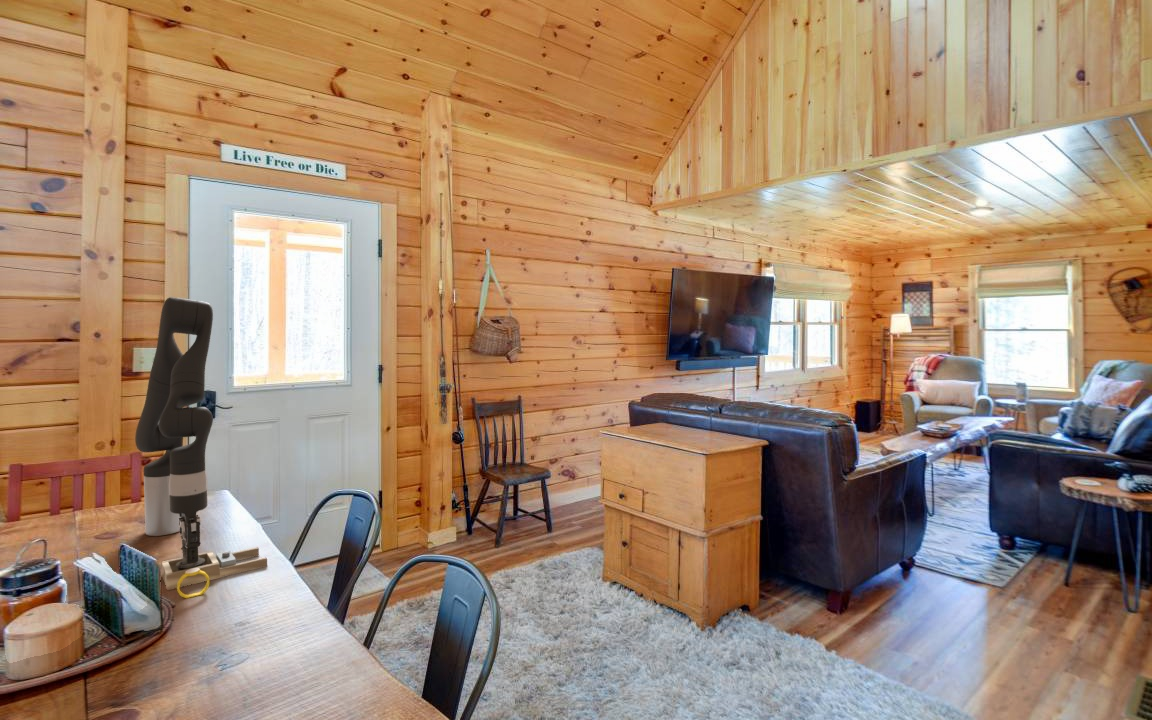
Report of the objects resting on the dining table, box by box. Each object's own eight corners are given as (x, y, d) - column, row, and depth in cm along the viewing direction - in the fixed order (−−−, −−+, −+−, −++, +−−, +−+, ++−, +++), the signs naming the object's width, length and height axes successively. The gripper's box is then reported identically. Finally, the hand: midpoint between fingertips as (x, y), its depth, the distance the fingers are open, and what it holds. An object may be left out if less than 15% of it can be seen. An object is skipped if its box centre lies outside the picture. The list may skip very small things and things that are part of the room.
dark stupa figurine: (190, 583, 135) (189, 533, 135) (170, 581, 137) (168, 531, 136) (211, 573, 141) (210, 525, 140) (191, 570, 142) (189, 523, 142)
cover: (216, 565, 145) (216, 550, 145) (230, 562, 147) (229, 547, 147) (222, 574, 140) (221, 559, 140) (236, 571, 142) (235, 555, 142)
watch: (179, 603, 126) (175, 577, 126) (178, 598, 128) (175, 572, 128) (211, 593, 130) (208, 568, 129) (209, 589, 132) (206, 564, 132)
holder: (161, 575, 139) (161, 561, 139) (257, 554, 153) (257, 541, 153) (167, 590, 131) (166, 575, 131) (267, 566, 145) (267, 552, 145)
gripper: (212, 493, 135) (213, 563, 136) (201, 481, 145) (203, 545, 146) (173, 500, 130) (175, 572, 131) (165, 486, 141) (167, 553, 141)
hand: (190, 557), depth 139 cm, fingers open, 6 cm apart
